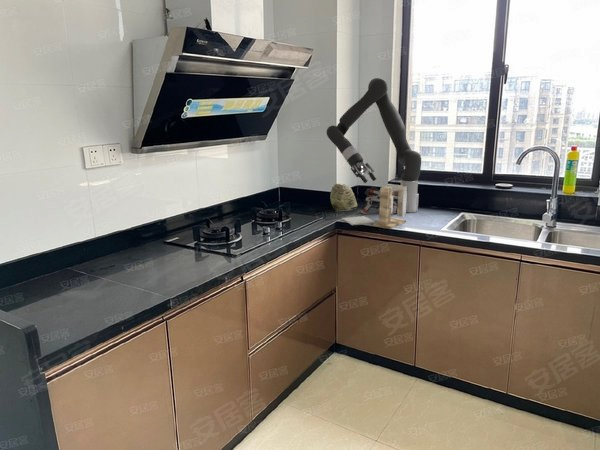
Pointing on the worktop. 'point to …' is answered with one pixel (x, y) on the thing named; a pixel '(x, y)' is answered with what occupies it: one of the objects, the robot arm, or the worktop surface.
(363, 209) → the toy blaster
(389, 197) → the stand
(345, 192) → the fossil
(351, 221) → the mat
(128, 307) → the worktop surface
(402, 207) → the link
